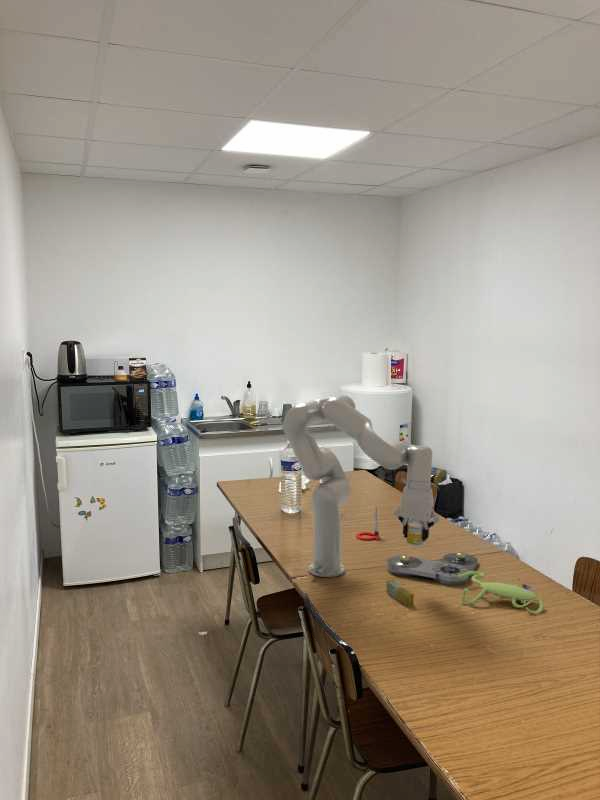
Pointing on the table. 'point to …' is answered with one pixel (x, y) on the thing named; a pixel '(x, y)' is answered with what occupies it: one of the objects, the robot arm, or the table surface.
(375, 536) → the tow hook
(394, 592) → the medication box
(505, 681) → the table surface
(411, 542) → the supplement bottle
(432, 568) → the upper chain link
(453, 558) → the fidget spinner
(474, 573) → the figurine
